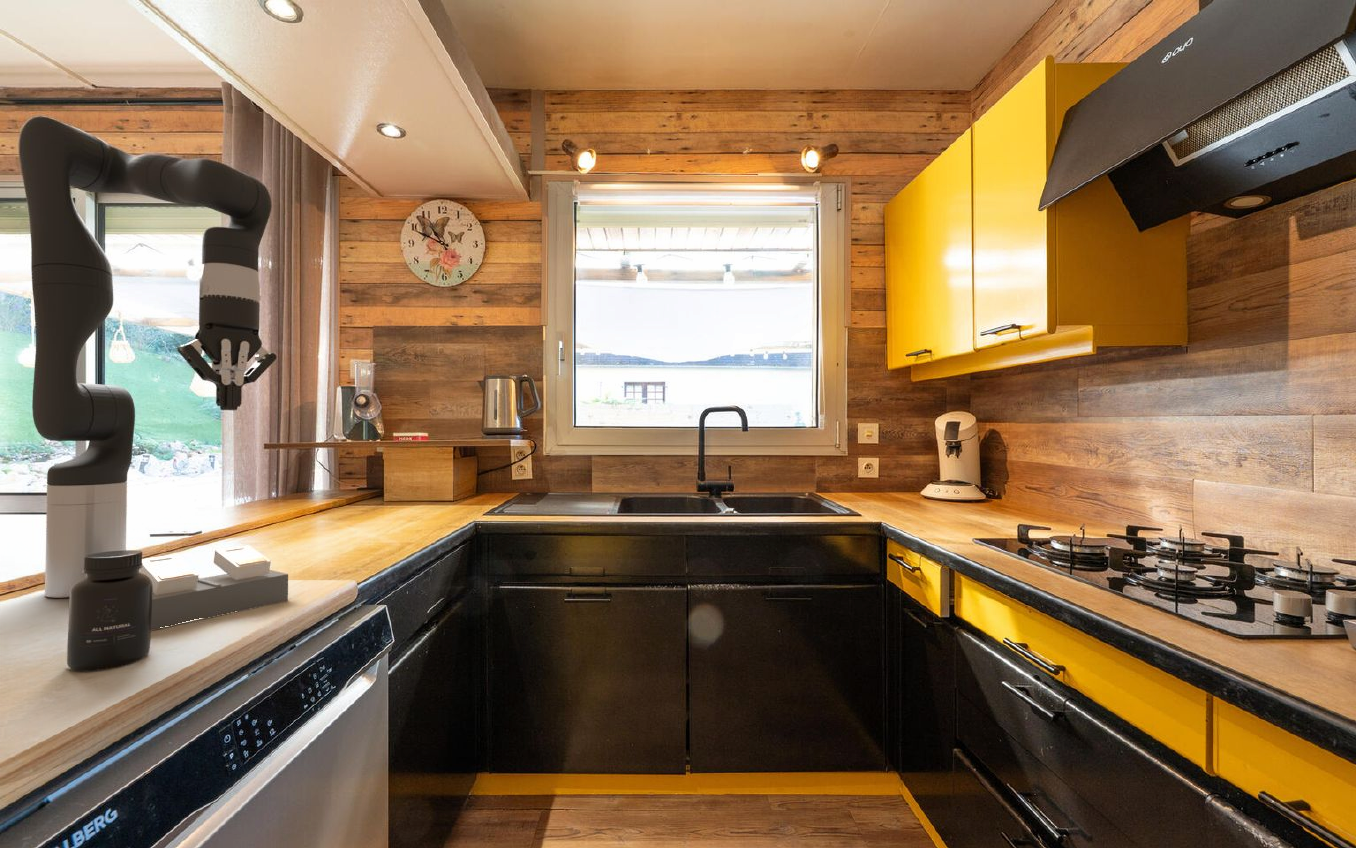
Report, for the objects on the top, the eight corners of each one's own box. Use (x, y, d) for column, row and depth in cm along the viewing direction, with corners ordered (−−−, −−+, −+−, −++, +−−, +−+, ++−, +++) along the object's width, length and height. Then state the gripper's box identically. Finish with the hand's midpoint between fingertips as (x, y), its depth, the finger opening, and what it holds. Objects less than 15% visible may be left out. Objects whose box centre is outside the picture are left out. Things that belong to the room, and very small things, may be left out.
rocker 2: (213, 562, 90) (215, 549, 90) (246, 557, 94) (248, 544, 94) (235, 580, 87) (237, 565, 86) (268, 574, 90) (270, 560, 90)
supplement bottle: (99, 675, 63) (101, 561, 64) (49, 670, 65) (51, 558, 65) (166, 652, 70) (168, 549, 70) (120, 648, 72) (122, 546, 72)
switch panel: (112, 623, 81) (112, 591, 81) (261, 593, 96) (261, 566, 96) (136, 634, 76) (136, 600, 76) (287, 600, 92) (288, 572, 92)
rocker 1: (136, 573, 82) (138, 558, 82) (175, 567, 86) (178, 553, 86) (156, 595, 79) (158, 580, 79) (196, 588, 83) (198, 573, 82)
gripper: (265, 308, 101) (263, 411, 101) (167, 292, 90) (165, 409, 89) (288, 303, 97) (287, 411, 97) (189, 286, 86) (187, 408, 85)
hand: (228, 410), depth 93 cm, fingers closed
